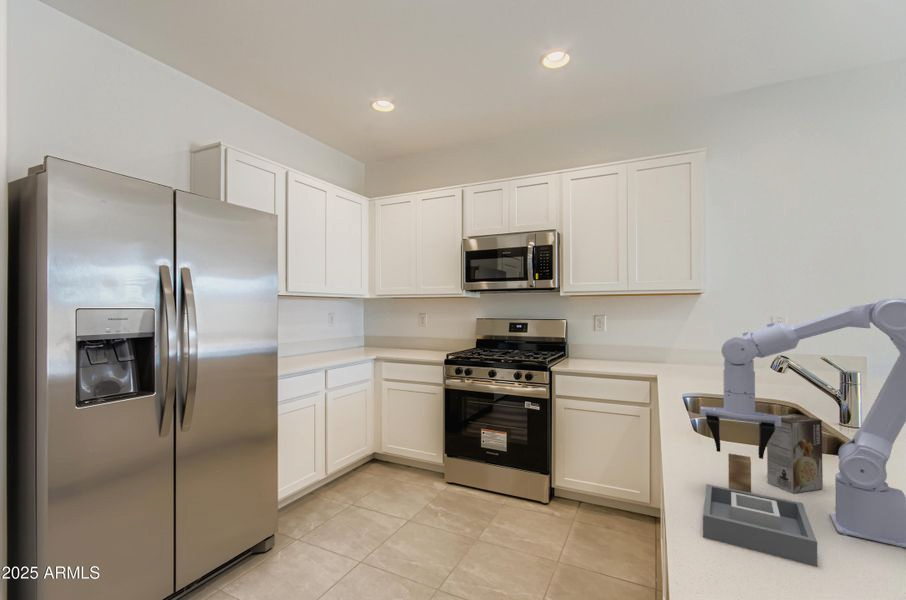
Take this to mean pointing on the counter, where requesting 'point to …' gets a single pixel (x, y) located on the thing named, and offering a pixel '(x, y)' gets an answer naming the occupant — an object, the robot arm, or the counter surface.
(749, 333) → the robot arm
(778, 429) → the coffee box
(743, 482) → the peg
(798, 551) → the socket box
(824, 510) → the counter surface
